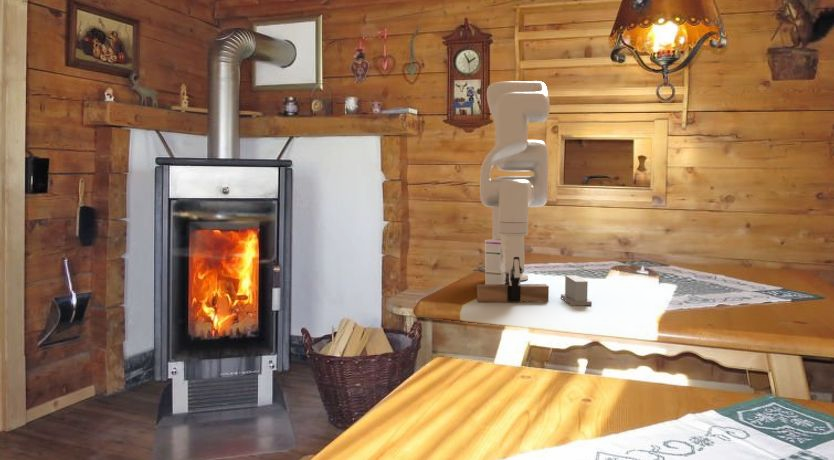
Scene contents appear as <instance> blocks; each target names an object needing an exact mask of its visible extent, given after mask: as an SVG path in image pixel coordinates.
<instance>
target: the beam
mask: <svg viewBox="0 0 834 460" xmlns="http://www.w3.org/2000/svg"><path fill="white" fill-rule="evenodd" d="M508 286H509V284H485V283H484V284H476V301H477V302H478V303H510V302H509V301H508ZM520 286H521V289H520V301H513V302H512V303H523V301H527V302H526V303H529V302H528V301H548V302H549V301H550V300H549V292H550V289H549V288H550V286H549V285H548V284H546V283H529V284H528V283H522V284H521V283H520Z"/></svg>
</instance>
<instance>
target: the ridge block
mask: <svg viewBox="0 0 834 460" xmlns="http://www.w3.org/2000/svg"><path fill="white" fill-rule="evenodd" d="M564 280H565V282H564V284H565V285H564V287H565V288H564V293H561V294H560V298H561V299H562V298H563V299H564V300H566V301H567V302H568V304H569V303H570V304H571V305H592V303H593V301H591V300H590V299H588V286H589V285H588V282H589V281H588V280H586V279H585V278H582V277H581V276H579V275H571V274H570V275H569V274H568V275H565V278H564ZM563 299H562V300H563ZM564 300H563V301H564ZM566 301H565V302H566ZM567 302H566V303H567ZM570 304H569V305H570ZM571 305H570V306H571Z"/></svg>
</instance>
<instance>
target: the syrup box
mask: <svg viewBox="0 0 834 460" xmlns="http://www.w3.org/2000/svg"><path fill="white" fill-rule="evenodd" d="M500 246H501V238H495V239H492V238H489V239H485V240H484V276H485V277H484V278H485V279H484V284H505V273H503V272H502V271H501V270H500Z"/></svg>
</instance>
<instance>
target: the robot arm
mask: <svg viewBox="0 0 834 460" xmlns="http://www.w3.org/2000/svg"><path fill="white" fill-rule="evenodd" d="M486 101H487V105H488V110H489V111H490V114H491V116H492V119H493V122H494V129H495V130H494V131H495V133H494V134H495V135H494V147H492V149H491V150H490V151H489V152H488V154H487V155H486V156H485V158H484V160H482V164H481V166H480V173H479V199H480V202H481V204H482V205H483V206H485V207H487V208H491V209H492V210H491V212H492V213H491V214H492V217H491V218H492V236H491V237H492V238H491V239H495V238H501V246H500V270H501V271H502V272H503V273H505V284H509V286H508V301H509V302H508V303H514V302H513V301H520V289H521V286H520V284H521V281H527V280H528V279H529V275H528V274H527V273H524V272H525V236H528V235H529V208H541V207H544V206H545V205H546V203H547V202H548V198H549V196H548V195H549V150H548V147H547V144H546V143H545V142H544V141H543V140H539V139H529V137H528V136H529V135H528V133H529V132H528V127H529V126H528V124H529V123H531V124H534V123H535V124H536V123H537V124H538V123H539V124H541V123H545V122H547V120H548V119H549V116H550V110H551V109H550V108H551V106H550V97H549V92H548V87H547V86H546V84H545V83H544V82H542V81H539V80H538V81H537V80H534V81H533V80H532V81H529V80H528V81H520V80H519V81H516V80H515V81H514V80H511V81H510V80H509V81H505V80H504V81H498V82H497V81H496V82H493V83H491V84H489V85H488V87H487V90H486ZM495 166H496V169H498V170H499V171H503V172H530V173H532V175H502V176H498V177H495V178H491V172H492V170H493V168H494V167H495Z"/></svg>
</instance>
